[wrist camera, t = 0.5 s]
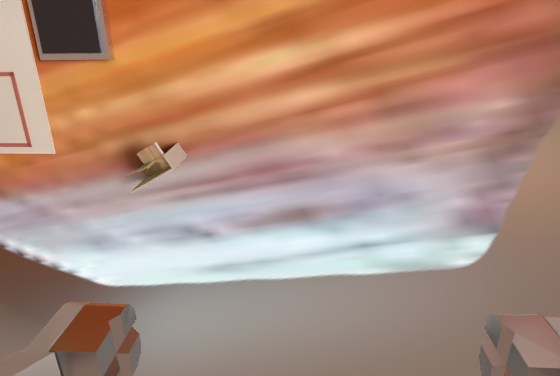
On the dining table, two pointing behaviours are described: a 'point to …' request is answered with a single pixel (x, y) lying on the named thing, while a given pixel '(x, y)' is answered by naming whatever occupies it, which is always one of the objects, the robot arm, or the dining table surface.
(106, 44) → the ink pad
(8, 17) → the paper sheet
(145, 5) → the dining table surface
